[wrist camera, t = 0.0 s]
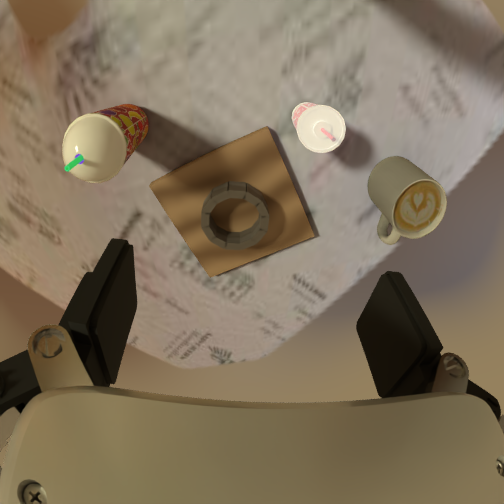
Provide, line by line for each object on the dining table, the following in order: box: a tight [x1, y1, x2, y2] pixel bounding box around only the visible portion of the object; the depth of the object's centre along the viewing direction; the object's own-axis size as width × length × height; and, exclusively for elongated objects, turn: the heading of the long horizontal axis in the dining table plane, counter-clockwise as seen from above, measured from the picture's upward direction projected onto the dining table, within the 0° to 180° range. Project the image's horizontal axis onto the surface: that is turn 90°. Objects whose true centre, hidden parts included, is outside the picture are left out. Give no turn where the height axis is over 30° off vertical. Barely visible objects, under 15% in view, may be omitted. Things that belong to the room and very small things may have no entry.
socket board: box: [149, 126, 314, 277], centre depth 48 cm, size 20×20×5 cm
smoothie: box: [62, 104, 148, 183], centre depth 33 cm, size 8×8×20 cm
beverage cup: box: [292, 102, 346, 153], centre depth 37 cm, size 6×6×14 cm
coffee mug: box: [368, 156, 447, 245], centre depth 45 cm, size 13×10×10 cm
